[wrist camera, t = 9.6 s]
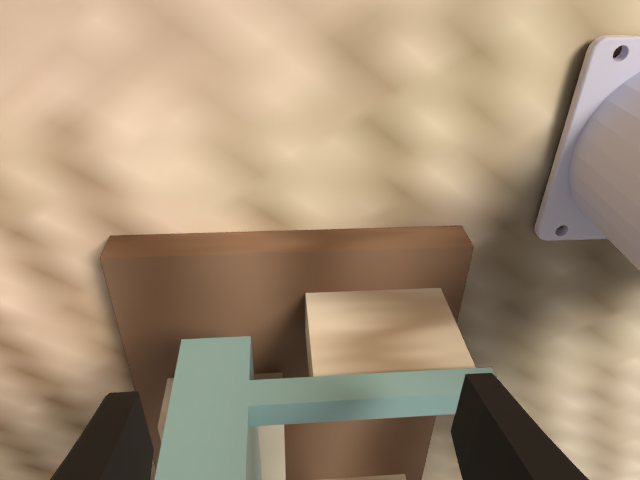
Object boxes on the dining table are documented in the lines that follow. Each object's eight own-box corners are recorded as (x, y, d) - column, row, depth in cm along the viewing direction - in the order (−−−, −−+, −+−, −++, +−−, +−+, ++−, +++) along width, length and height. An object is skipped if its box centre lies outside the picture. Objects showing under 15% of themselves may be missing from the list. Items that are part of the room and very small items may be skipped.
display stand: (461, 225, 21) (521, 327, 16) (408, 488, 32) (434, 598, 27) (110, 235, 20) (59, 348, 15) (176, 504, 31) (158, 622, 26)
